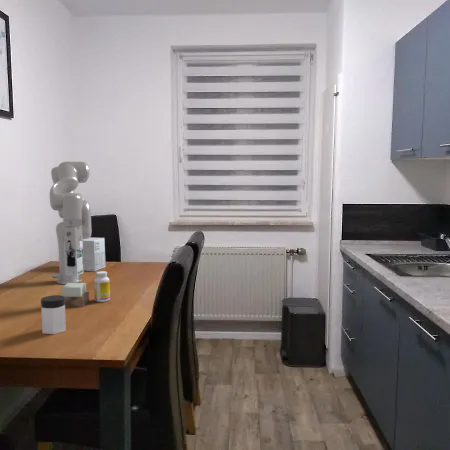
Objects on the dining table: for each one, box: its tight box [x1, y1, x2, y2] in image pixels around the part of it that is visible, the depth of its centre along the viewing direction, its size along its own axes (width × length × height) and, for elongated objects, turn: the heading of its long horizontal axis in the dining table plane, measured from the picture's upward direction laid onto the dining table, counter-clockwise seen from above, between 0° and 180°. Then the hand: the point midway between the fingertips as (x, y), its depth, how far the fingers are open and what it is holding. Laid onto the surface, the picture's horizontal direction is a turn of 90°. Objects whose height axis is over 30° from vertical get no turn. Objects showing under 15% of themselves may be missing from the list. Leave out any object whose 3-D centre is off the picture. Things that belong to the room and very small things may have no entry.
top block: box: [61, 282, 87, 297], centre depth 200 cm, size 8×8×4 cm
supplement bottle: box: [93, 270, 111, 303], centre depth 205 cm, size 7×7×13 cm
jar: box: [40, 294, 67, 335], centre depth 166 cm, size 9×8×12 cm
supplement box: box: [83, 237, 106, 272], centre depth 272 cm, size 17×13×18 cm
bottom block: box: [65, 291, 90, 308], centre depth 200 cm, size 9×9×4 cm
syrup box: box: [64, 241, 85, 276], centre depth 198 cm, size 6×6×14 cm
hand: (74, 264), depth 198 cm, fingers closed on syrup box, 6 cm apart
